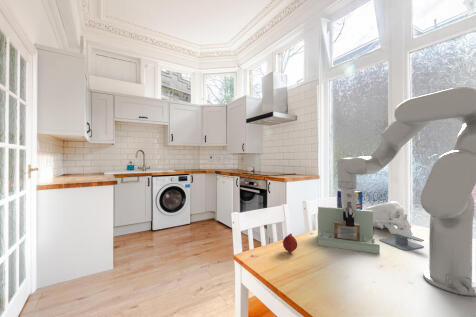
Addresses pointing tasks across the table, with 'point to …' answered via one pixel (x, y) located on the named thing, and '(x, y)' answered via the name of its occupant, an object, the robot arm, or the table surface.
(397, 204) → the skull planter
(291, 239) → the onion
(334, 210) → the ledge
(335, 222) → the frame
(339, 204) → the beverage box
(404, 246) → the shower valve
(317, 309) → the table surface
